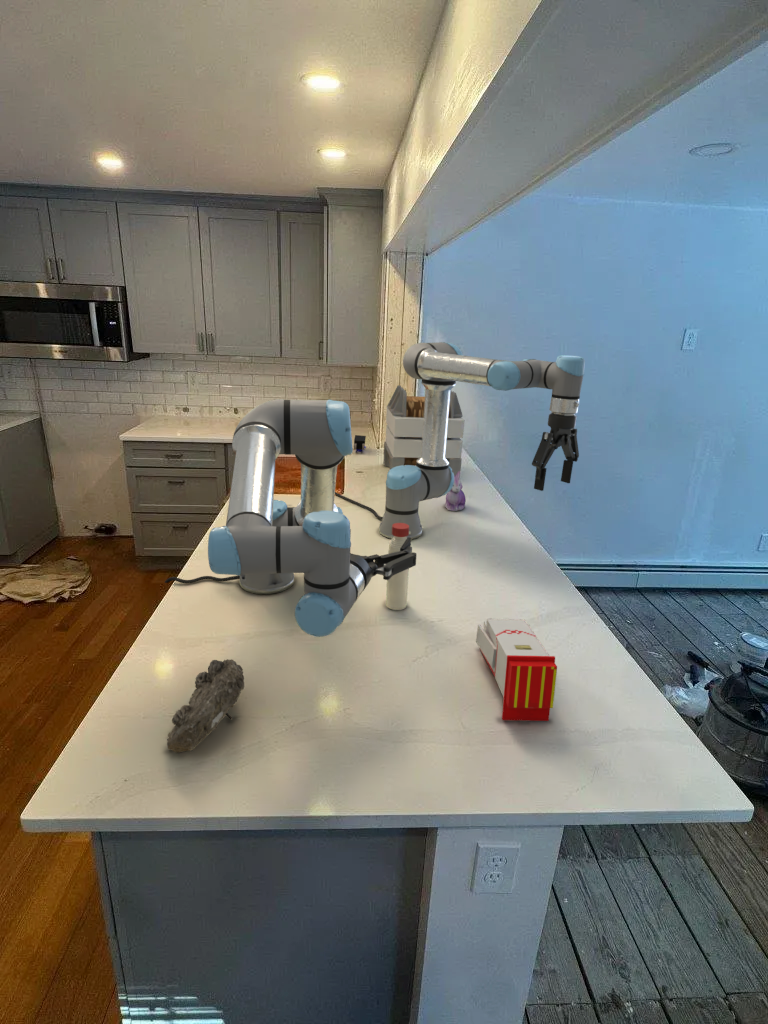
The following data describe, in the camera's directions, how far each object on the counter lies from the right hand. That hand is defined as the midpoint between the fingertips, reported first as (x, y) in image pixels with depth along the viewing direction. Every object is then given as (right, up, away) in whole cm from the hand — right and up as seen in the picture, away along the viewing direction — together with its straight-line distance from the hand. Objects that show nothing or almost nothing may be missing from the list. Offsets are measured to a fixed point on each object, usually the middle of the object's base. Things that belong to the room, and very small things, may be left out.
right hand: (552, 485), depth 166 cm
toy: (-22, -44, -42) cm, 65 cm away
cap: (-45, -11, -21) cm, 51 cm away
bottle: (-46, -33, -14) cm, 58 cm away
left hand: (-50, -13, -43) cm, 67 cm away
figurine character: (-63, +26, +146) cm, 161 cm away
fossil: (-82, -47, -57) cm, 110 cm away
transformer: (-32, +11, +109) cm, 115 cm away
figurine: (-21, -6, +63) cm, 67 cm away
